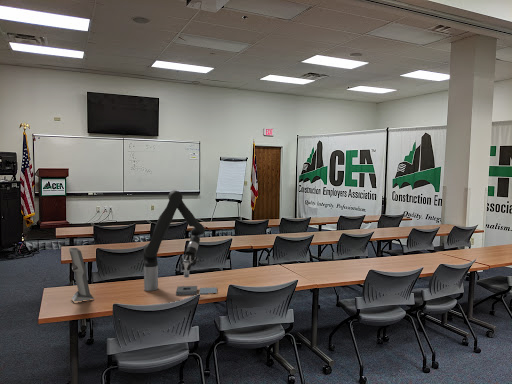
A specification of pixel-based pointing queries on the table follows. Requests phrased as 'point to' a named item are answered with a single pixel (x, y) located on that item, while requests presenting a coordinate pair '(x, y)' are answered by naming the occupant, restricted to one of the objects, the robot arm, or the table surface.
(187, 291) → the chuck plate
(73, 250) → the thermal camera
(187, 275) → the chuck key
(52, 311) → the table surface
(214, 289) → the rubber mat
